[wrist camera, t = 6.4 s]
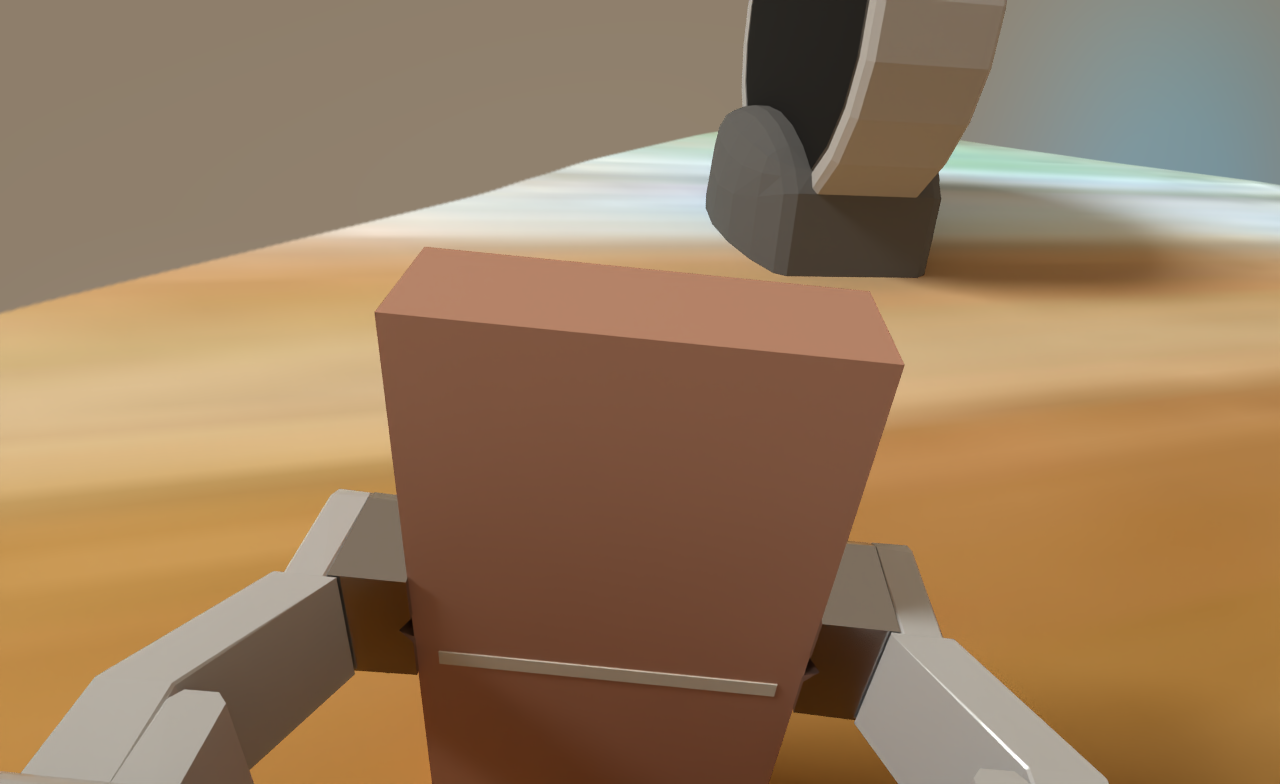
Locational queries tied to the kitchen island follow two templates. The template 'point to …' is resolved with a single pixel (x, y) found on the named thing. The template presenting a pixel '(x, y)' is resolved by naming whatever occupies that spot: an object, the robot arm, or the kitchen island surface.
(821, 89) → the alarm clock
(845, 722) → the kitchen island surface
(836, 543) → the domino
